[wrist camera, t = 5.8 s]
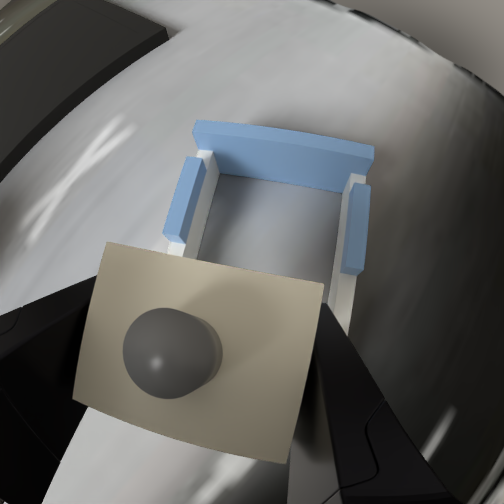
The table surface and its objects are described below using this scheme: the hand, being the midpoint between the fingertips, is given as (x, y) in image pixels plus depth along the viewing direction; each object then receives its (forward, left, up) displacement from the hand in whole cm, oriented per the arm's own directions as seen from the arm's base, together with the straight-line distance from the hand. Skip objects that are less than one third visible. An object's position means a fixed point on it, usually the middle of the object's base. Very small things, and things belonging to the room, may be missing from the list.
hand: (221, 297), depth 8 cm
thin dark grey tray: (+39, +21, -13) cm, 46 cm away
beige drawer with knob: (-1, +1, -7) cm, 7 cm away
